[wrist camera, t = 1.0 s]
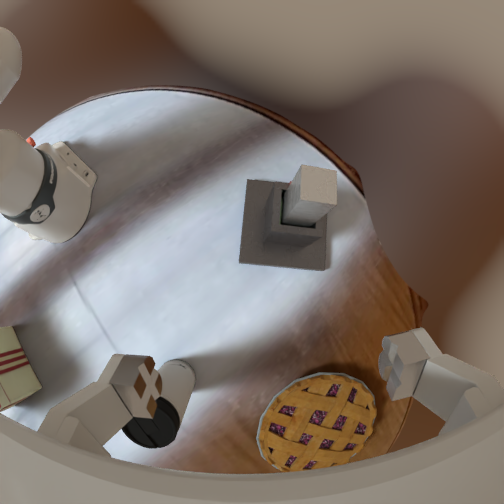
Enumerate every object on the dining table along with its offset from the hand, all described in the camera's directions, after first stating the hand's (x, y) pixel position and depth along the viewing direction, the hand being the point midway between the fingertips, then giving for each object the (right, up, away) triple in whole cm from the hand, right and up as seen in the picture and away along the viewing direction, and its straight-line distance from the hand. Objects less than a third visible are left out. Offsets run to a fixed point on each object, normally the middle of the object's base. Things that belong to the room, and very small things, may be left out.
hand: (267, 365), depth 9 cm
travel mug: (-13, -17, +33) cm, 39 cm away
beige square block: (+5, +8, +37) cm, 38 cm away
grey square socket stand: (+5, +8, +38) cm, 39 cm away
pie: (+11, -27, +34) cm, 45 cm away
